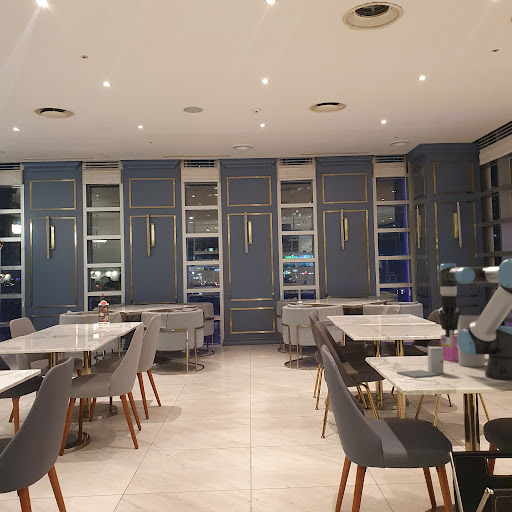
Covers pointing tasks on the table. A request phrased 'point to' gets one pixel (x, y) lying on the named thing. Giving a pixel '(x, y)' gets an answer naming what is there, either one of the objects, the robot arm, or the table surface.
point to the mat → (417, 373)
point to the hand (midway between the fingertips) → (450, 343)
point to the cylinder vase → (463, 359)
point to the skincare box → (435, 360)
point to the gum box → (450, 348)
